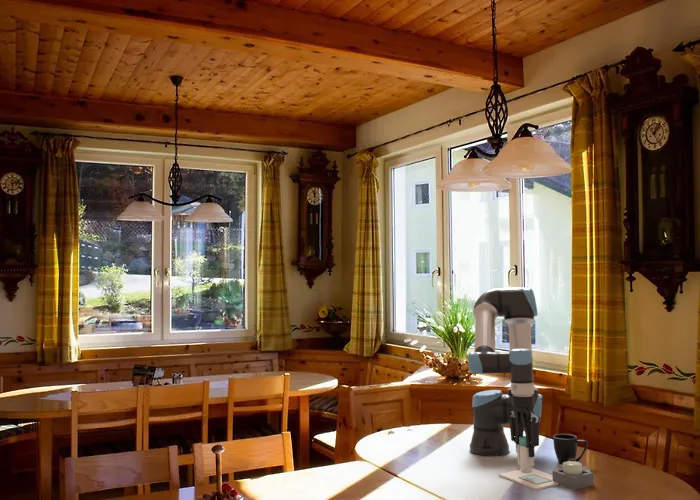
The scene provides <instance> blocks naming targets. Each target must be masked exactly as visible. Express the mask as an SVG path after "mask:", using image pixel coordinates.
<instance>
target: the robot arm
mask: <svg viewBox="0 0 700 500" xmlns="http://www.w3.org/2000/svg"><path fill="white" fill-rule="evenodd" d="M472 315H473V317H474V319H475V325H474V328H475V329H474V351H473V352H472V351H471V352H469V353H468V356H467V359H468V361H467V362H468V363H467V364H468V366H467V367H468V371H469V372H470V373H471V374H481V375H482V374H485V375H486V374H510V386H509V387H508V388H507V393H506V394H505V393H504V394H503V392H502V390H501V389H489V390H483V391H479V392H476V393H475V394H473V396H472V406H471V408H472V420H473V423H472V424H473V426H472V427H473V432H472V437H471V442H470V444H469V451H470V452H471V453H472V454H474V453H475V454H474V455H479V456H489V457H493V456H495V457H496V456H502V455H507V454H509V453H510V446H509V445H510V444H509V443H508V439H507V437H506V434H505V432H504V425H505V426H506V425H508V426H509V428H510V429H509V430H510V441H511V442H514V443H515V448H516V449H515V450H516V451H515V452H516V455H517V465H520V445H519V437H520V436H526V441H527V446H526V467H532V468H533V467H535V447H538V446H539V445H540V422H541V417H542V409H543V408H542V407H543V404H542V403H543V395H542V394H540V393H539V389H538V388H537V387H536V386H535V385H534V367H533V365H534V364H533V361H534V358H533V350H532V331H531V330H532V329H531V324H532V323H533V322H534V321H535V317H537V316H538V308H537V302H536V296H535V293H534V289H532V288H531V287H521V286H520V287H501V288H492V289H488V290H487V291H485V292H484V293H482V294H481V295H479V297H478V298H477V300H476V302H475V303H474V306H473V309H472ZM498 317H499V318H501V317H503V318H504V323H506V324H507V325H508V341H509V343H508V344H509V351H500V352H499V351H496V319H498ZM524 434H525V435H524Z"/></svg>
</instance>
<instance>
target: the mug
mask: <svg viewBox="0 0 700 500" xmlns="http://www.w3.org/2000/svg"><path fill="white" fill-rule="evenodd" d="M552 439H553V450H554V453H555V456H556V458H557V459H556V460H557V463H558V465H559V464H560V465H563V462H567V461H568V460H569V458H575V459H576V461H578V462H579V463H580V461H581V459H582V457H583V455H584V454H585V453H586V451H587V449H588V446H589V445H588V444H589V443H588V441H587V440H585V439H578V437H577V435H575V434H570V433H558V434H553V436H552ZM579 442H582V443H584V445H585V446H584V449H583V451H582V452H581V454H580V456H578V457H577V453H578V443H579Z"/></svg>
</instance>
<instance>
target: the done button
mask: <svg viewBox="0 0 700 500" xmlns="http://www.w3.org/2000/svg"><path fill="white" fill-rule="evenodd" d="M562 465H563V473H565V474H568V475H571V476H576V475H580V474H582V466H583V465H582V463H581V462H580V461H579V462H573V461H568V462H563V464H562Z"/></svg>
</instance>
